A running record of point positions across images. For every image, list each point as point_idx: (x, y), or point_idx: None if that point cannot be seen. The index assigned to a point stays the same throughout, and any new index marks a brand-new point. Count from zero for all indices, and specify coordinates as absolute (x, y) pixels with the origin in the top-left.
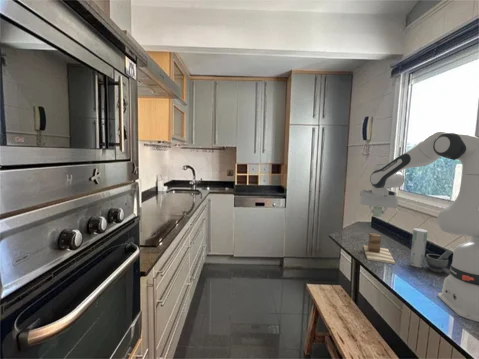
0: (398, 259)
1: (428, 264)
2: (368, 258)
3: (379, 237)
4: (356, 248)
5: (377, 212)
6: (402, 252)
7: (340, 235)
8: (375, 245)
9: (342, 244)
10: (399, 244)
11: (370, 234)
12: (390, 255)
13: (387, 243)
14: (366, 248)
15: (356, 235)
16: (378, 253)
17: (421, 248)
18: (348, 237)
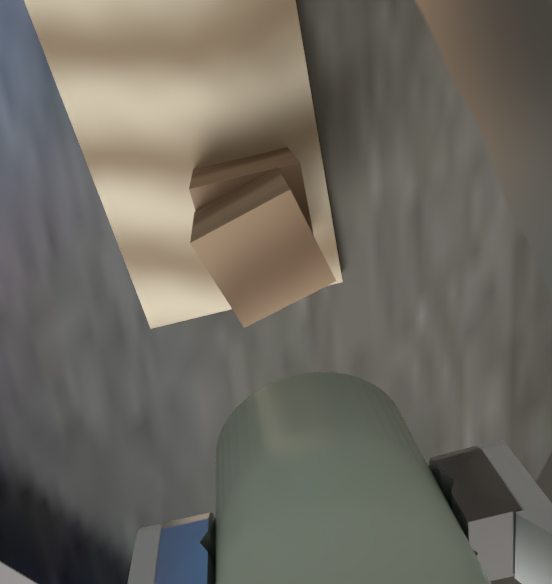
0: (28, 151)
1: None
2: None
3: (206, 227)
4: (390, 197)
5: (327, 455)
6: (48, 362)
7: (517, 431)
8: (237, 174)
9: (507, 221)
10: (109, 518)
11: (318, 245)
12: (94, 158)
13: (185, 484)
14: (312, 210)
15: None
16: (198, 137)
17: None
18: (459, 426)
